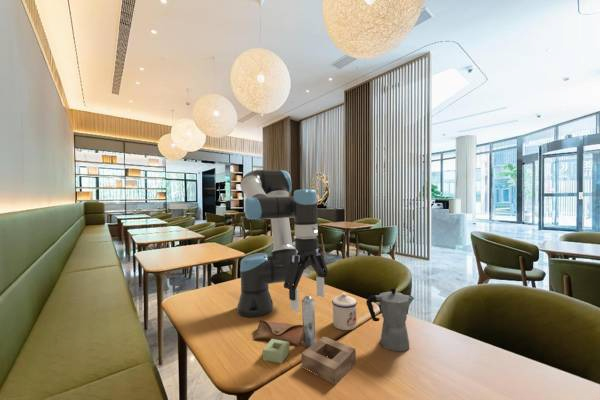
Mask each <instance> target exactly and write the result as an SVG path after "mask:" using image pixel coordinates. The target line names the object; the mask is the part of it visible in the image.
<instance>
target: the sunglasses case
mask: <svg viewBox="0 0 600 400" xmlns="http://www.w3.org/2000/svg"><path fill="white" fill-rule="evenodd" d="M271 339H276V340H281V341H287V342H289V346H290V345H291V346H295V347H301V346H302V344H303V324H292V323H286V322H285V323H284V322H275V321H266V320H262V319H261V320H259V324H258V326H257V329H256V331H255V333H254V336H253V338H252V339H251V340H252V341H260V342H261V341H262V342H268V343H269V342H270V340H271Z"/></svg>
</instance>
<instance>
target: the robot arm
mask: <svg viewBox="0 0 600 400" xmlns="http://www.w3.org/2000/svg"><path fill="white" fill-rule="evenodd" d="M292 185H293V184H292V178H291V175H290V173H289V172H288V171H287V170H282V169H255V170H251V171H249V172H247V173H245V175H244V176H243V177H242V178H241V180H240V189H241V192H242V193H243V194H245V197H246V198H245V200H244V216H245V218H246V219H247V220H267V219H268V220H270V224H271V234H272V241H273V249H272V250H271V252H270V255H268V253H266V252H256V253H253V254H249V255H246V256H244V257H243V258H242V259H241V260H240V268H239V271H240V296H239V300H238V302H237V308H236V309H237V311H238V312H237V314H238V313H239V314H238V315H239V316H241V317H244V318H256V317H264V316H265V315H267V314H270V313H271V312H272V311H273V310H274V301H273V299H272V296H271V294H270V291H269V284H270V285H271V284H278V283H283V288H284V289H288V298H289V300H290V304H289V305H290V310H292V311H295V312H299V311H300V304H299V302H300V300H299V296H300V295H299V288H298V285H299V283H300V280H301V278H302V275H303V273H304V271H305V270H306V269H307V268H308V267H310V266H311V268H312V269H313V270H314V272H315V273H316V274H317V276H316V277H315V279H316V296H317V297H321V298H325V295H326V294H325V283H326V282H325V278H328V273H329V269H328V267H327V264H326V261H325V258H324V254H323V248H319V238H318V236H319V231H318V230H319V229H318V225H319V224H318V223H319V221H318V197H317V191H316V190H315V189H311V188H310V189H308V188H307V189H295V190H294V192H293V196H290V193H291V192H292V189H293V186H292ZM290 218H294V236H295V237H296V238H295V239H294V246H293V238H292V232H291V225H290V224H291V223H290Z"/></svg>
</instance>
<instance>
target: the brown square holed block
mask: <svg viewBox="0 0 600 400" xmlns="http://www.w3.org/2000/svg"><path fill="white" fill-rule="evenodd" d="M356 355H357V352H356V348H354V347H352V346H350V345H346V344H344V343H343V342H339V341H337V340H334V339H332V338H329V337H326V336H322V337H320V338H319V339H318V340H317V341H315V343H314V344H313V345H312V346H310V347H307V348H306V349H304V351H302V352H301V368H302V367H304V368H306V369H308V370H310V371H312V372H313V373H315V374H317V375H318V376H317V375H316V376H317V377H319V376H320V377H319V378H321V377H322V378H324V379H326V380H327V381H326V380H325V381H326V382H328V381H329V382H328V383H330V382H331V383H330V384H332V383H333V384H332V385H333V386H337V385H338V383H339V382H340V381H341V380H342V379H343V378H344V376H346V374H347V373H348V372H349V371H350V370H351V369H352V368H353V367H352V366H355V364H357V356H356ZM326 356H328V357H330V358H332V359H330V358H328V357H326ZM304 368H303V369H304ZM306 369H305V370H306ZM313 373H312V374H313ZM315 374H314V375H315ZM322 378H321V379H322ZM324 379H323V380H324Z"/></svg>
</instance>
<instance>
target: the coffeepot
mask: <svg viewBox="0 0 600 400" xmlns="http://www.w3.org/2000/svg"><path fill="white" fill-rule="evenodd" d="M396 291H397V288H396V287H390V291H385V292H380V293H379V294H378V295H377V294H376V295H370V296H369V297H368V298H367V299H366V300H365V301H366V302H365V303H366V306H367V308H368V312H369V313H370V314H369V315H370V317H371V319H372V321H373V322H379V321H380V318H379V317H376V312H375V310H374V305H373V303H374V302H375V303H379V305H380V311H381V316H382V319H383V321H382V326H381V327H382V328H381V335H380V344H381V345H382V346H383V347H384V348H385V349H387V350H390V351H391V352H399V353H401V352H405V351H408V350H409V349H410V340H409V335H408V334H409V333H408V328H407V324H406V321H407V316H408V310H409V309H408V308H409V307H410V305H411V303H412V301H414V300H415V298H414V297H413V296H412V295H408V294H404V293H401V292H396Z"/></svg>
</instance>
